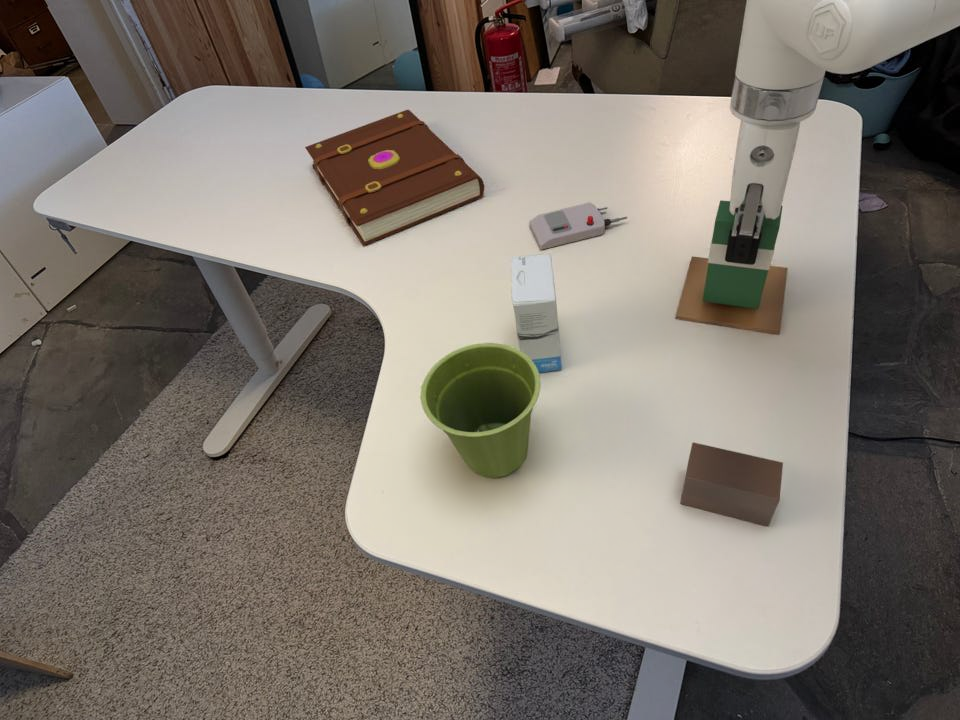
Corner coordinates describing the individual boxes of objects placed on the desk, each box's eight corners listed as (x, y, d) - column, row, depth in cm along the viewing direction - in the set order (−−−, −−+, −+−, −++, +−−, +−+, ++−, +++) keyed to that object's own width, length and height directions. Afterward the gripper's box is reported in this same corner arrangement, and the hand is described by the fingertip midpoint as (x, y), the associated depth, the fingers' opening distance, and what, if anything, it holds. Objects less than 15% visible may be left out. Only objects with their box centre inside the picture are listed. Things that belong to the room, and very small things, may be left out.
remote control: (518, 228, 94) (516, 212, 92) (614, 204, 94) (615, 188, 92) (528, 253, 89) (526, 237, 87) (630, 228, 90) (631, 211, 88)
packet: (713, 245, 78) (720, 192, 67) (769, 251, 76) (785, 197, 65) (701, 306, 77) (705, 261, 65) (757, 314, 74) (772, 270, 63)
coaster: (786, 271, 79) (787, 267, 78) (779, 334, 72) (780, 331, 71) (691, 259, 83) (691, 256, 83) (675, 318, 76) (675, 315, 76)
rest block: (772, 490, 59) (783, 462, 55) (768, 527, 57) (779, 500, 53) (687, 469, 62) (692, 442, 58) (680, 504, 59) (685, 477, 56)
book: (362, 247, 97) (352, 221, 93) (311, 167, 117) (302, 143, 114) (487, 196, 101) (482, 169, 98) (417, 128, 122) (411, 103, 118)
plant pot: (535, 398, 71) (525, 331, 63) (560, 484, 63) (553, 419, 55) (436, 420, 71) (415, 355, 63) (449, 509, 63) (426, 448, 55)
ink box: (562, 371, 73) (557, 300, 65) (521, 375, 74) (511, 304, 65) (557, 322, 79) (551, 250, 70) (519, 326, 79) (509, 255, 71)
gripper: (815, 139, 50) (770, 301, 64) (823, 54, 60) (783, 210, 73) (720, 134, 53) (696, 291, 66) (742, 54, 63) (718, 204, 76)
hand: (742, 247), depth 70 cm, fingers closed on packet, 4 cm apart
